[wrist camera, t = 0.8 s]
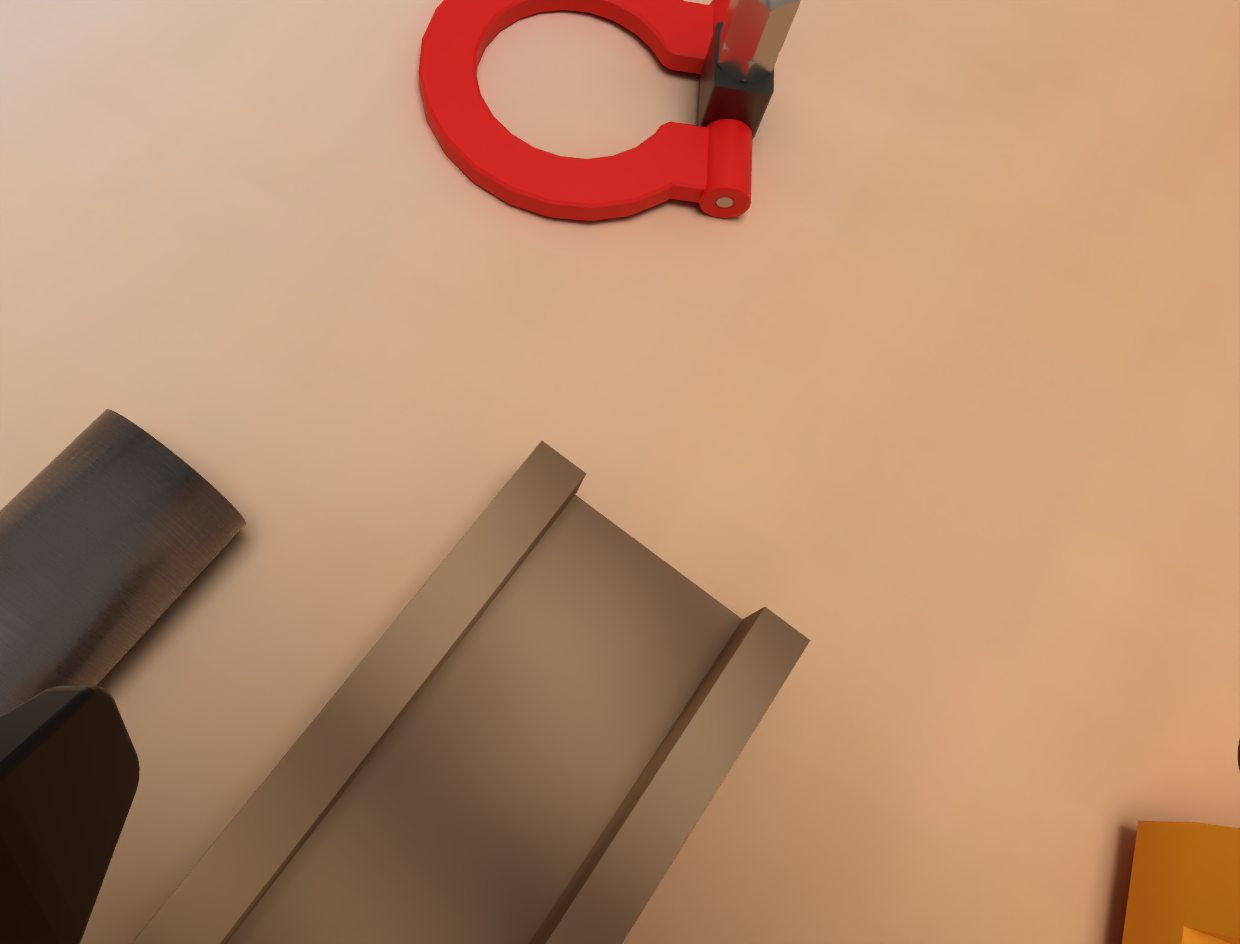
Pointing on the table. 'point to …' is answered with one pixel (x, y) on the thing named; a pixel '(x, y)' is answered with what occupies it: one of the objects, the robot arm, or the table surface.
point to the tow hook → (660, 166)
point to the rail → (500, 748)
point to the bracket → (1184, 885)
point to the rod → (99, 555)
